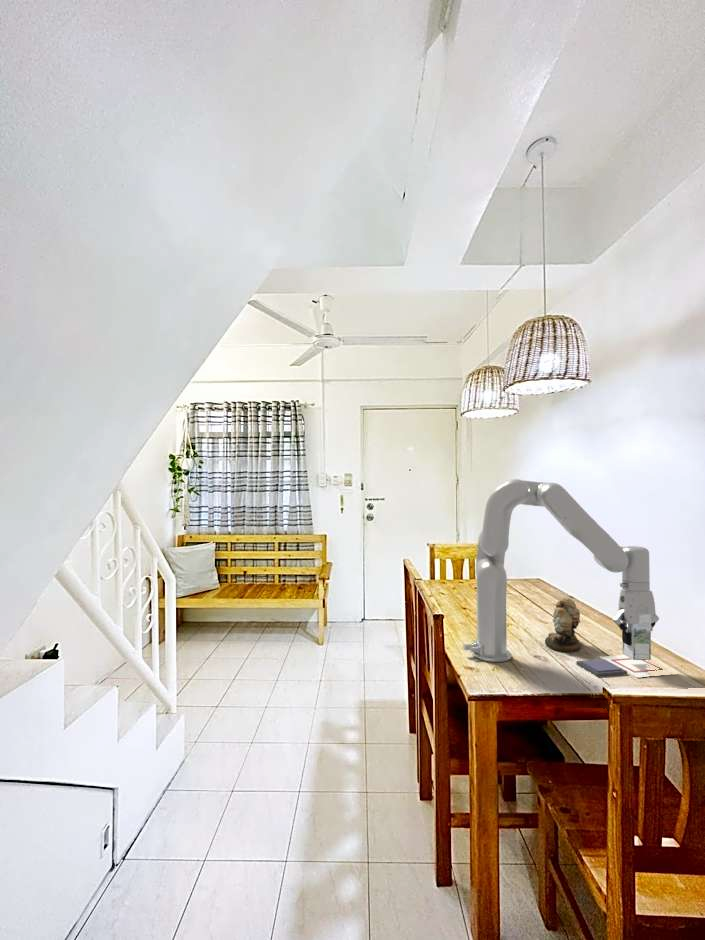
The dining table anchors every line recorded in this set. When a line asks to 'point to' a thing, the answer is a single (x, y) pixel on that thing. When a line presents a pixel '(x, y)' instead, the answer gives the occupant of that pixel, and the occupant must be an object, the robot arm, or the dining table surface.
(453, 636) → the dining table surface
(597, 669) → the ink pad
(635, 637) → the syrup box
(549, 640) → the tan lumpy figure
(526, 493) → the robot arm
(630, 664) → the marked sheet
